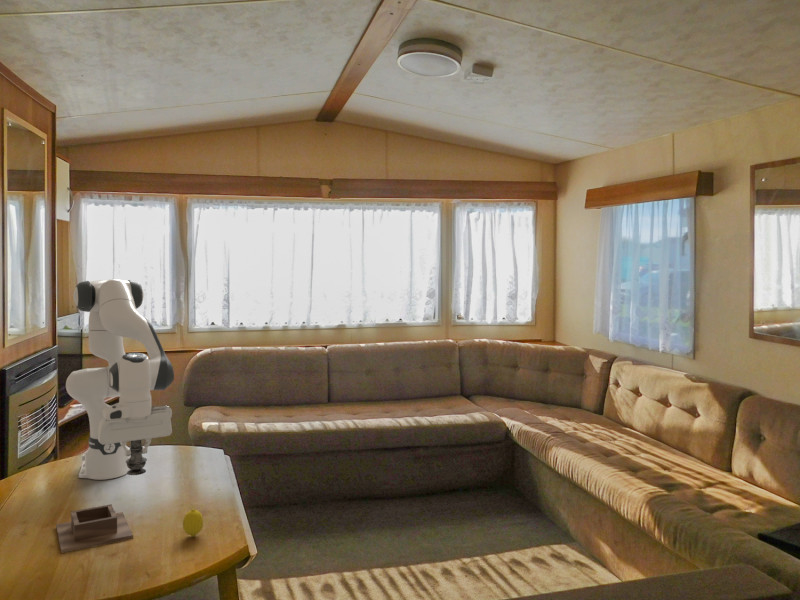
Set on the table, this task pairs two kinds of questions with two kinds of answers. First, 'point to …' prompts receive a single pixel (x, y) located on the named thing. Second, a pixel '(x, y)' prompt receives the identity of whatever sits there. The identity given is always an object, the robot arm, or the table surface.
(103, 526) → the caddy
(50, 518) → the table surface
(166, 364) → the robot arm
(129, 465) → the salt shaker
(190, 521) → the lemon
